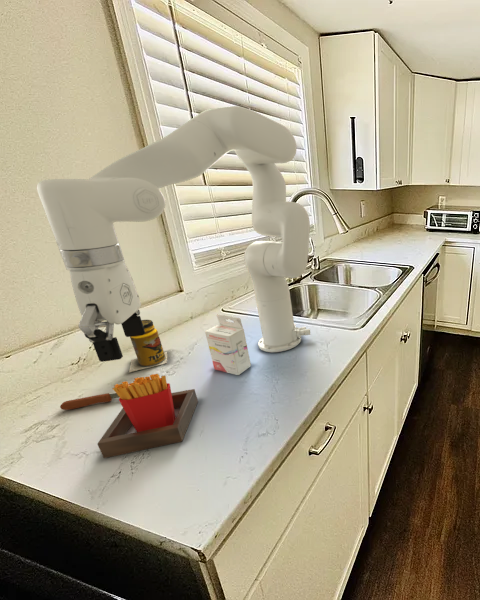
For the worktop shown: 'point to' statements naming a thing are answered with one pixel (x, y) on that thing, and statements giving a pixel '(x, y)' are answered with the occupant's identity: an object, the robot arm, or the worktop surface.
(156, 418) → the french fries
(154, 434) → the holder
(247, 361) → the ink cartridge box
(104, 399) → the kitchen knife
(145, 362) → the condiment
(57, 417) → the worktop surface
